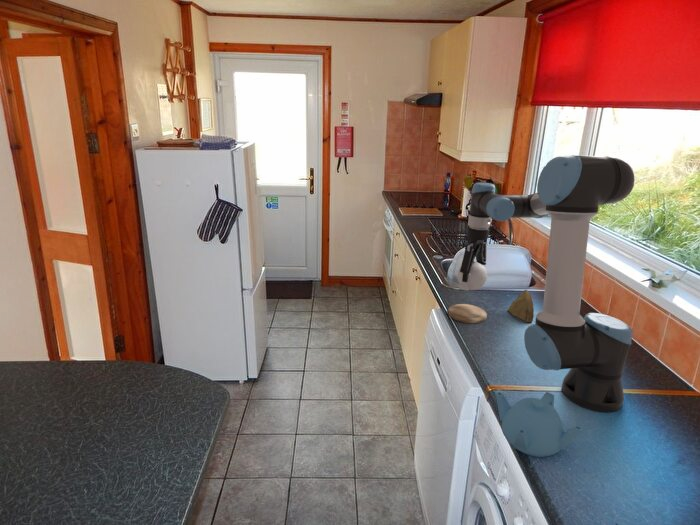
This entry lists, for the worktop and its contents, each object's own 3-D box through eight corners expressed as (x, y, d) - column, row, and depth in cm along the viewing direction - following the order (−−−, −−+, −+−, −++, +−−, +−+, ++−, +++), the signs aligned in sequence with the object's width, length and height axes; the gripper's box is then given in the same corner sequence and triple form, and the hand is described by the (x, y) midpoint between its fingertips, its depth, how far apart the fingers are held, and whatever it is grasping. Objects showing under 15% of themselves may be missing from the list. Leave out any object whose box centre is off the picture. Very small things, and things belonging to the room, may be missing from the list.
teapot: (578, 463, 104) (588, 423, 100) (513, 464, 103) (521, 424, 99) (547, 419, 118) (555, 382, 114) (489, 419, 117) (495, 383, 113)
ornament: (450, 285, 173) (454, 255, 169) (471, 281, 177) (475, 252, 173) (469, 296, 164) (473, 264, 160) (490, 291, 169) (495, 260, 165)
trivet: (477, 326, 165) (477, 323, 165) (441, 315, 173) (442, 312, 173) (492, 314, 176) (492, 310, 175) (458, 303, 184) (458, 300, 183)
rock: (541, 319, 167) (538, 305, 176) (530, 301, 165) (527, 287, 174) (514, 331, 172) (512, 316, 181) (502, 313, 170) (501, 299, 179)
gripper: (475, 236, 152) (467, 297, 160) (500, 223, 169) (492, 279, 177) (454, 231, 156) (447, 291, 164) (481, 219, 174) (474, 274, 181)
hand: (470, 285), depth 170 cm, fingers closed on ornament, 10 cm apart
